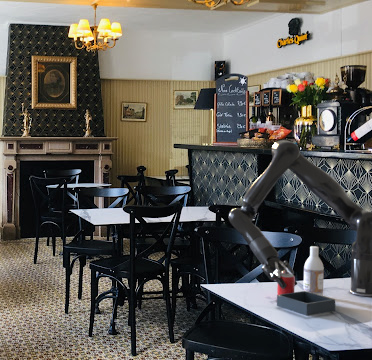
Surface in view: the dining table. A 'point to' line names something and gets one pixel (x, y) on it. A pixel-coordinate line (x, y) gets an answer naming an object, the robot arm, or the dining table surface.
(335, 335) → the dining table surface
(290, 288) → the can
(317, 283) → the bath foam
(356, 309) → the dining table surface
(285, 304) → the tub
